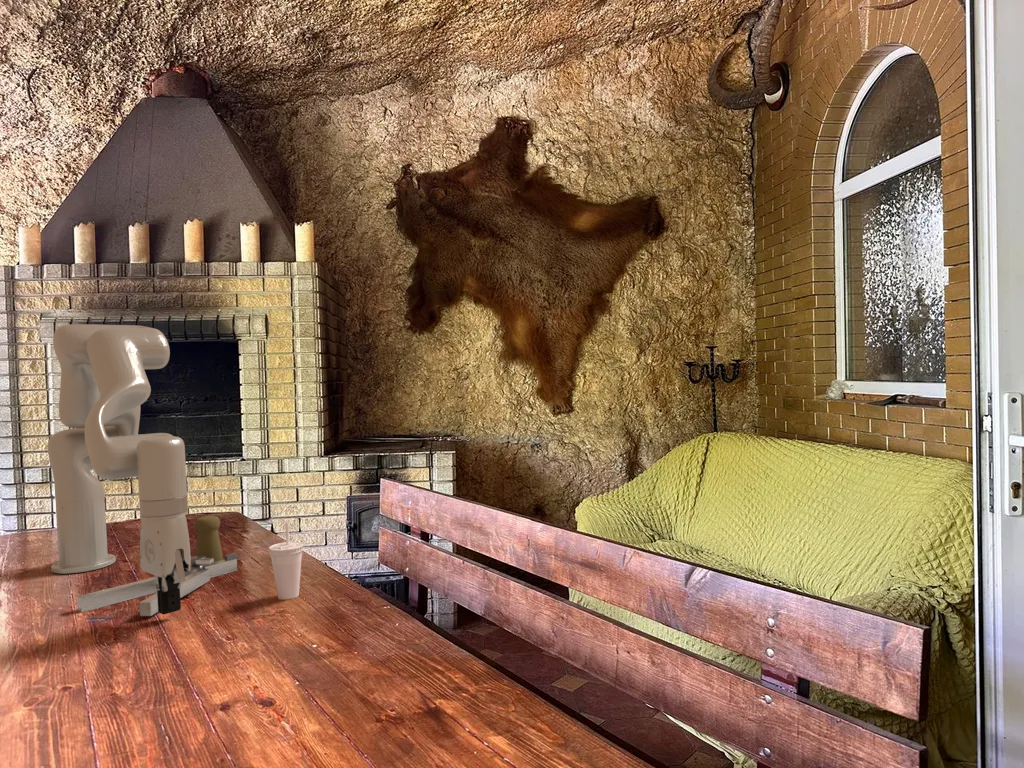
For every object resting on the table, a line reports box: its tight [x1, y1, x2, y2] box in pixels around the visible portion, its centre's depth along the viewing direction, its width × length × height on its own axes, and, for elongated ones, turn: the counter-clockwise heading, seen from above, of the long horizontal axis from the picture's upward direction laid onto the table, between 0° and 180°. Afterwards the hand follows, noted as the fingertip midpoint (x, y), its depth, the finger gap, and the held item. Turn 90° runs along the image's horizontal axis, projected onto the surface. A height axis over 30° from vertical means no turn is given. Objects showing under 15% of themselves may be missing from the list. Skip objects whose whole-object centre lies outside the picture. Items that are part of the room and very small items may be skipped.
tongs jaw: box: [139, 555, 214, 617], centre depth 134 cm, size 6×24×4 cm, turn 175°
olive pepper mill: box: [194, 515, 224, 565], centre depth 155 cm, size 6×6×11 cm
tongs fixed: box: [76, 552, 239, 613], centre depth 139 cm, size 2×31×4 cm, turn 140°
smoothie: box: [268, 521, 305, 601], centre depth 131 cm, size 6×6×14 cm
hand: (169, 611), depth 121 cm, fingers closed
